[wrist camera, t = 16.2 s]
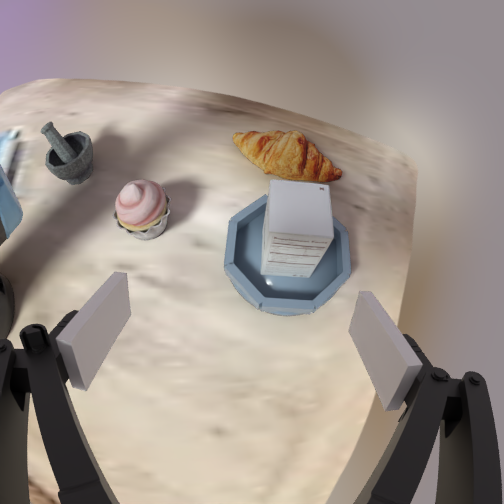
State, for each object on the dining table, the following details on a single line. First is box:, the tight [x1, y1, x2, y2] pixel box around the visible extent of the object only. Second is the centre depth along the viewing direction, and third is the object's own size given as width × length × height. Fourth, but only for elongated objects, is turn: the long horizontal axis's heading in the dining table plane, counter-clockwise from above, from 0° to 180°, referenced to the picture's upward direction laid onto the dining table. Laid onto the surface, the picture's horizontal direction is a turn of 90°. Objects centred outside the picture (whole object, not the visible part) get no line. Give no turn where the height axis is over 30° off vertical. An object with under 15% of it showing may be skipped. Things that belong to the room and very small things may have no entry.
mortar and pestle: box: [41, 122, 93, 185], centre depth 46 cm, size 11×9×12 cm
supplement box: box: [261, 180, 334, 278], centre depth 38 cm, size 7×7×13 cm
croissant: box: [233, 130, 342, 182], centre depth 51 cm, size 21×10×8 cm, turn 66°
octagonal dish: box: [224, 194, 351, 316], centre depth 43 cm, size 18×18×4 cm
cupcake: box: [113, 179, 171, 240], centre depth 42 cm, size 9×9×10 cm
